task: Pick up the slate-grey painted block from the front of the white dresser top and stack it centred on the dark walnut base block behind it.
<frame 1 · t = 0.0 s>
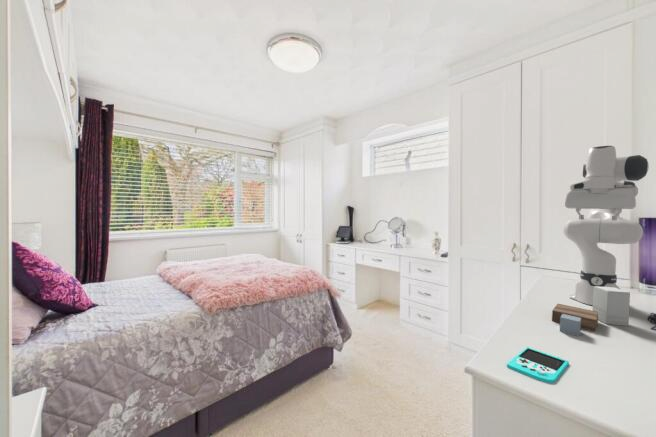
hand: (597, 219, 111), 39 cm above the dresser, tool pointing down, fingers open, 8 cm apart
supplement box: (609, 321, 106), on the dresser
walnut base: (574, 321, 105), on the dresser
slate block: (570, 331, 97), on the dresser
handheld game console: (537, 367, 75), on the dresser
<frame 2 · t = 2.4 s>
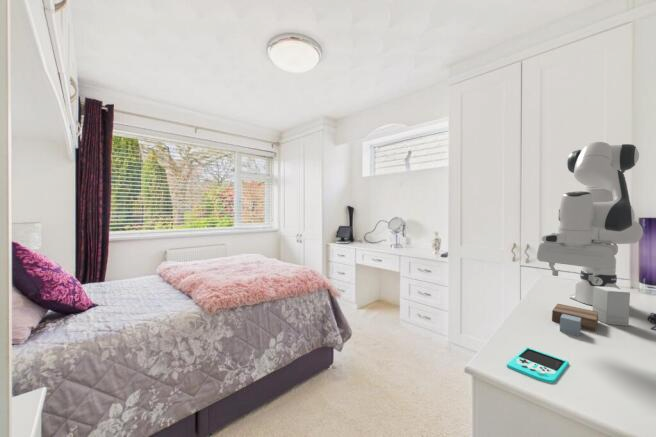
hand: (572, 278, 96), 19 cm above the dresser, tool pointing down, fingers open, 8 cm apart
nothing on the dresser moved.
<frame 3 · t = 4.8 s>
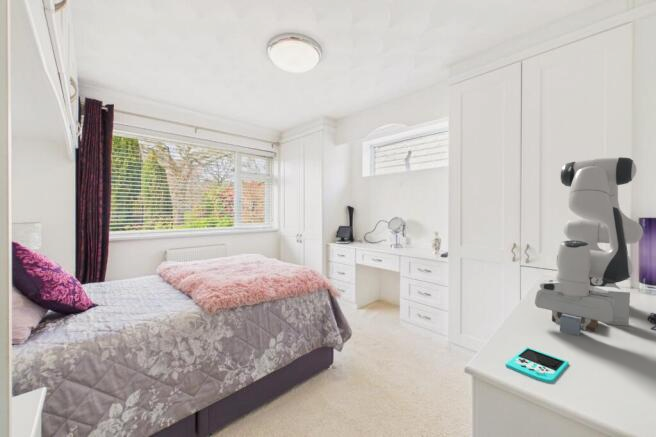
hand: (570, 326, 97), 2 cm above the dresser, tool pointing down, fingers closed on slate block, 5 cm apart
slate block: (570, 331, 97), on the dresser, touching gripper
everything else where it was.
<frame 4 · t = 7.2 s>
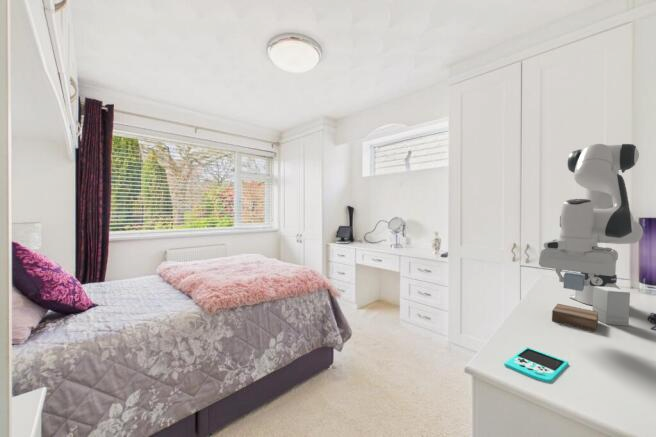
hand: (573, 283, 98), 16 cm above the dresser, tool pointing down, fingers closed on slate block, 5 cm apart
slate block: (573, 288, 98), point 15 cm above the dresser, touching gripper
everything else where it was.
when the fingers open (7 cm above the dresser, at t = 9.8 s): slate block stays where it is, resting on walnut base.
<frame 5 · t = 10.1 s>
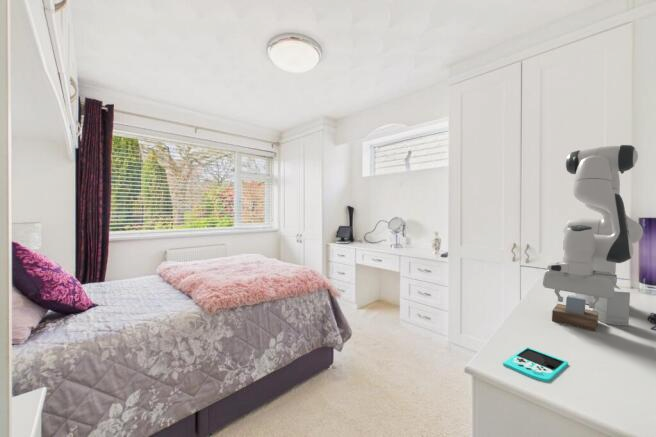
hand: (575, 304, 105), 7 cm above the dresser, tool pointing down, fingers open, 8 cm apart
slate block: (575, 311, 105), point 4 cm above the dresser, touching walnut base
everything else where it was.
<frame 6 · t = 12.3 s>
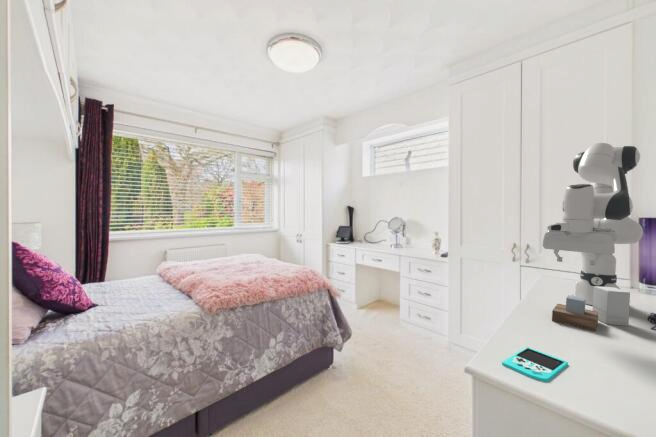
hand: (575, 263, 105), 22 cm above the dresser, tool pointing down, fingers open, 8 cm apart
nothing on the dresser moved.
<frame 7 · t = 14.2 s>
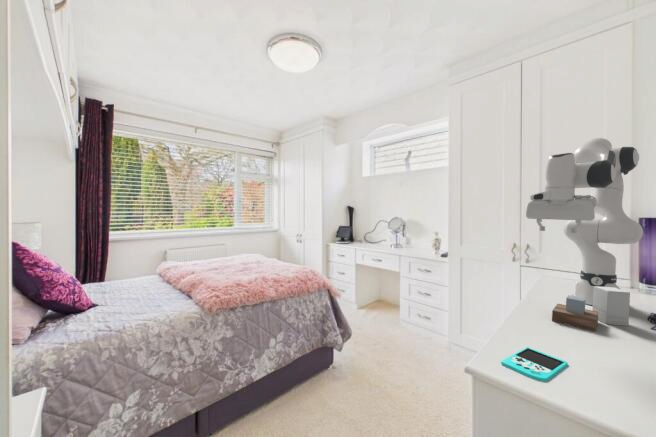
hand: (557, 231, 107), 34 cm above the dresser, tool pointing down, fingers open, 8 cm apart
nothing on the dresser moved.
at the end: slate block inside the target area on the walnut base (0.0 cm from its centre), point 4.0 cm above the walnut base's base; slate block tilted 0°; the gripper is holding nothing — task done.
